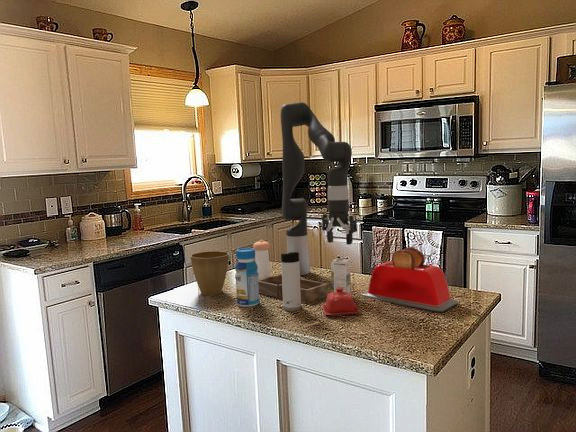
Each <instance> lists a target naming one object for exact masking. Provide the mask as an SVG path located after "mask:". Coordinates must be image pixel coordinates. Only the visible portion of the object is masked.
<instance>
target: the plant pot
mask: <svg viewBox="0 0 576 432" xmlns="http://www.w3.org/2000/svg"><path fill="white" fill-rule="evenodd" d="M229 256H230V254H229V252H227V251H220V250H213V251H211V250H210V251H209V250H208V251H200V252H194V253H192V254H190V256H189V257H190V261H191V266H192V271H193V274H194V277H195V281H196V283H197V286H198V290H199V291H200V293H201V295H202V296H204V297H205V296H209V297H212V296H213V297H214V296H217V295H220V294H221V293H222V291H223V287H224V286H225V285H224V284H225V281H226V276H227V272H228V271H227V270H228V264H229Z"/></svg>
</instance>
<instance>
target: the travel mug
mask: <svg viewBox="0 0 576 432" xmlns="http://www.w3.org/2000/svg"><path fill="white" fill-rule="evenodd" d="M280 263H281V264H280V265H281V266H280V267H281V274H282V292H283V299H282V308H283V309H284V310H285V311H290V312H292V311H297V310H300V309H302V303H301V290H300V277H301V275H300V265H299V252H290V253H287V252H286V253H285V252H283V253H280Z"/></svg>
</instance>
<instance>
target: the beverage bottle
mask: <svg viewBox="0 0 576 432" xmlns="http://www.w3.org/2000/svg"><path fill="white" fill-rule="evenodd" d="M235 251H236V252H235V255H236V260H237V262H236V263H235V267H234V270H235V275H234V278H235V287H236V288H235V289H236V304H237V306H239V307H242V308H250V307H255V306H257V305H259V304H260V293H259V285H258V277H259V274H258V272H257V269H258V266H257V264H256V262H255V261H256V258H255V249H254V248H253V247H252V248H251V247H245V248H244V247H243V248H239V249H236V250H235Z"/></svg>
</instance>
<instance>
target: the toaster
mask: <svg viewBox="0 0 576 432" xmlns="http://www.w3.org/2000/svg"><path fill="white" fill-rule="evenodd" d="M425 260H426V257H425V255H424V254H423V252H422V251H420V250H419V249H418V248H416V247H414V246H407V247H406V248H404V249H399V250H396V251H394V252H393V253H392V256H391V260H389V261H386V262H384V263H380V264H377V265H376V266H375V268H373V270H372V274H371V277H370V280H369V285H368V291H366V292H363V293H361V297H366V298H370V299H373V300H374V299H375V300H379V301H384V302H388V303H391V304H394V305H401V306H405V307H411V308H416V309H422V310H426V311H432V312H437V313H444V312H445V311H446V310H449V309H451V308H452V307H454V306H457V304H458V303H459V301H458V300H456V299H453V298H451V294H450V291H449V286H448V285H449V284H448V281H447V279H446V275H445V273H444V271H443V270H442V269H441V268H440V266H436V265H430V264H425V262H426V261H425Z"/></svg>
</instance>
